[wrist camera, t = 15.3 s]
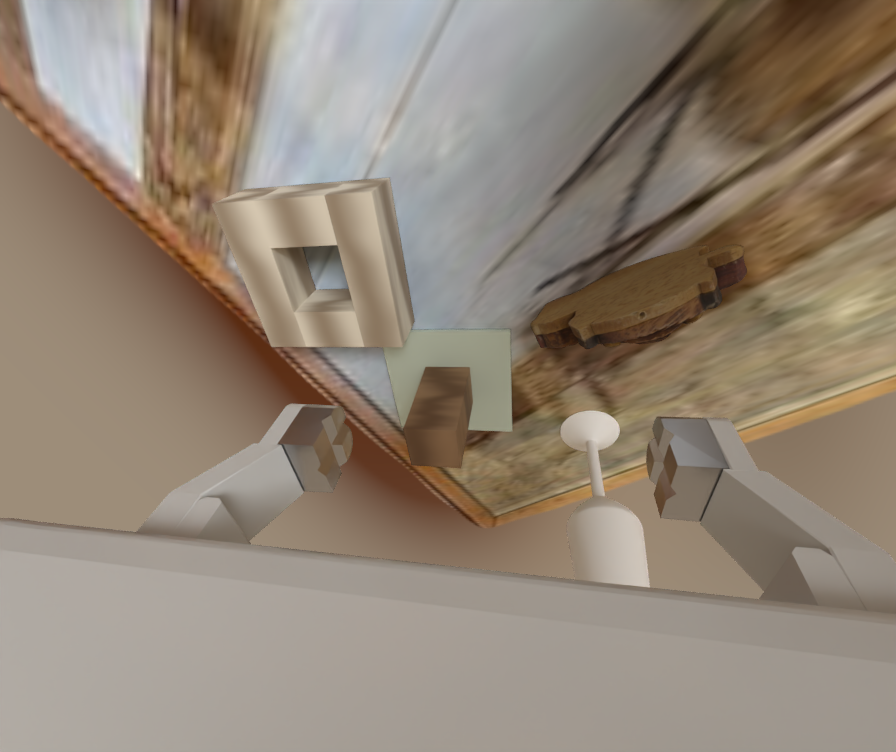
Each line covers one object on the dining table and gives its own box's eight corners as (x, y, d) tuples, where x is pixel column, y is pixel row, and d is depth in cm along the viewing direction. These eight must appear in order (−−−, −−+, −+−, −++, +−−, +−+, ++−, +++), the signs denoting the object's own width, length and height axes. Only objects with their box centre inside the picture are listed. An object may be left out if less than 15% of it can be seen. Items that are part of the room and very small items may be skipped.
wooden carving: (549, 336, 42) (552, 399, 34) (527, 301, 40) (525, 359, 32) (730, 255, 35) (786, 311, 27) (714, 207, 33) (770, 252, 25)
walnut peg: (469, 367, 45) (456, 431, 38) (473, 402, 48) (460, 468, 40) (425, 366, 46) (403, 428, 38) (431, 400, 49) (411, 465, 41)
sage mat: (510, 329, 42) (510, 331, 42) (512, 428, 50) (512, 431, 50) (380, 329, 45) (379, 332, 45) (402, 424, 53) (401, 427, 53)
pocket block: (389, 177, 35) (371, 191, 31) (414, 321, 44) (402, 347, 40) (244, 189, 38) (211, 204, 34) (294, 322, 46) (271, 346, 42)
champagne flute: (586, 401, 46) (621, 635, 27) (632, 428, 47) (697, 671, 29) (548, 434, 50) (556, 659, 31) (592, 459, 51) (625, 690, 32)
